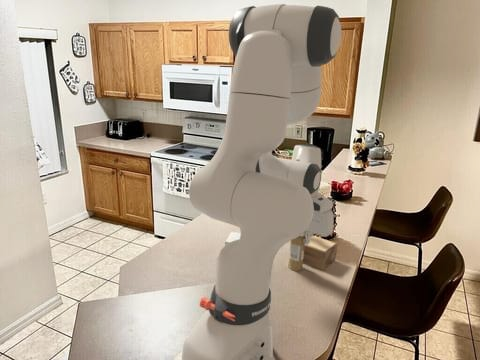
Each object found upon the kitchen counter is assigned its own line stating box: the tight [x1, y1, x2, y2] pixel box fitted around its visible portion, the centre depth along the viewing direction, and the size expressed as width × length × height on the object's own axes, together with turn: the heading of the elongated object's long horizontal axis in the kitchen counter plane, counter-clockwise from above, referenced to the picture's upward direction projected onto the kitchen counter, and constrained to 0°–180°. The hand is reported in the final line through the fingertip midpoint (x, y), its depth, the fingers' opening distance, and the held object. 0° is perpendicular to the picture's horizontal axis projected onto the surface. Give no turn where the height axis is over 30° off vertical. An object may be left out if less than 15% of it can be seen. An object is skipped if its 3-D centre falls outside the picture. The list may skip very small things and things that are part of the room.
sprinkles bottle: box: [287, 231, 307, 271], centre depth 112 cm, size 5×5×14 cm
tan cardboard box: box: [303, 235, 338, 271], centre depth 118 cm, size 9×9×6 cm
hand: (297, 240), depth 111 cm, fingers closed on sprinkles bottle, 4 cm apart
